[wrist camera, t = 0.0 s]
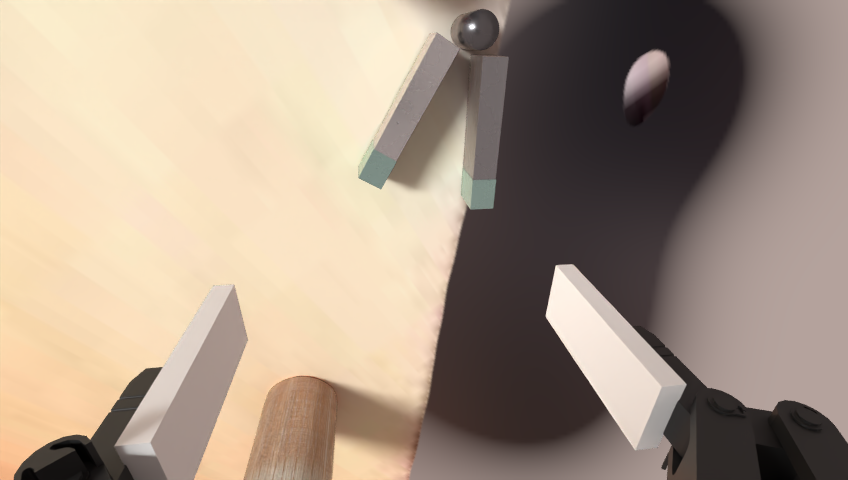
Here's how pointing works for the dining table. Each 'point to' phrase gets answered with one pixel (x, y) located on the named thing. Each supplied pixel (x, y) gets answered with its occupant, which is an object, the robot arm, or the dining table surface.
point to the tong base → (481, 106)
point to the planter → (295, 432)
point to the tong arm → (407, 109)
